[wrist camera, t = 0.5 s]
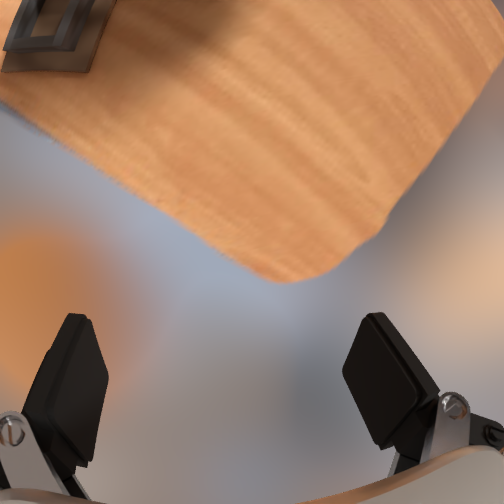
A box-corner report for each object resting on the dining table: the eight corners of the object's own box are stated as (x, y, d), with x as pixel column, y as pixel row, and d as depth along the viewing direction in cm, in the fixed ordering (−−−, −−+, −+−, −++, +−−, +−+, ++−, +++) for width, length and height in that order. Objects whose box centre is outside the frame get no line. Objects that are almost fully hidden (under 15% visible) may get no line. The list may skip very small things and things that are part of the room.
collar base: (41, -20, 17) (26, -30, 12) (130, -27, 21) (121, -43, 16) (5, 72, 23) (-15, 70, 18) (88, 72, 27) (72, 67, 22)
